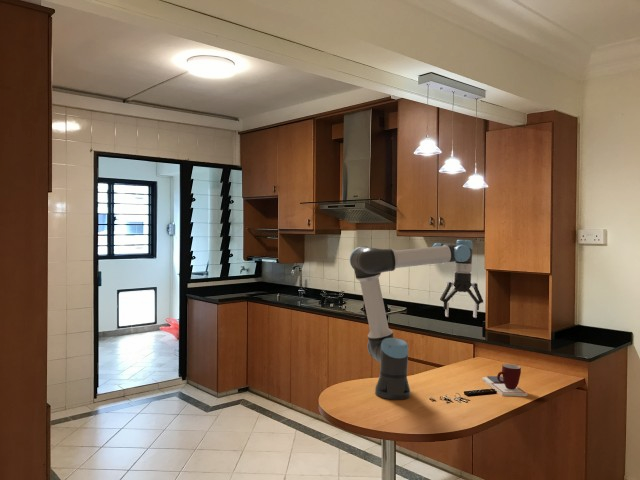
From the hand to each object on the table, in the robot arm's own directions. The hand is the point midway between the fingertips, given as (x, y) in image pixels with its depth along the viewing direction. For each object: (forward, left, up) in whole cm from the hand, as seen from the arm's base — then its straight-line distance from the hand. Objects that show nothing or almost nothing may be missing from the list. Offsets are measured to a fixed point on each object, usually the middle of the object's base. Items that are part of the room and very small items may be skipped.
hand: (460, 316), depth 244 cm
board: (+20, -6, -32) cm, 38 cm away
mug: (+20, -10, -31) cm, 38 cm away
